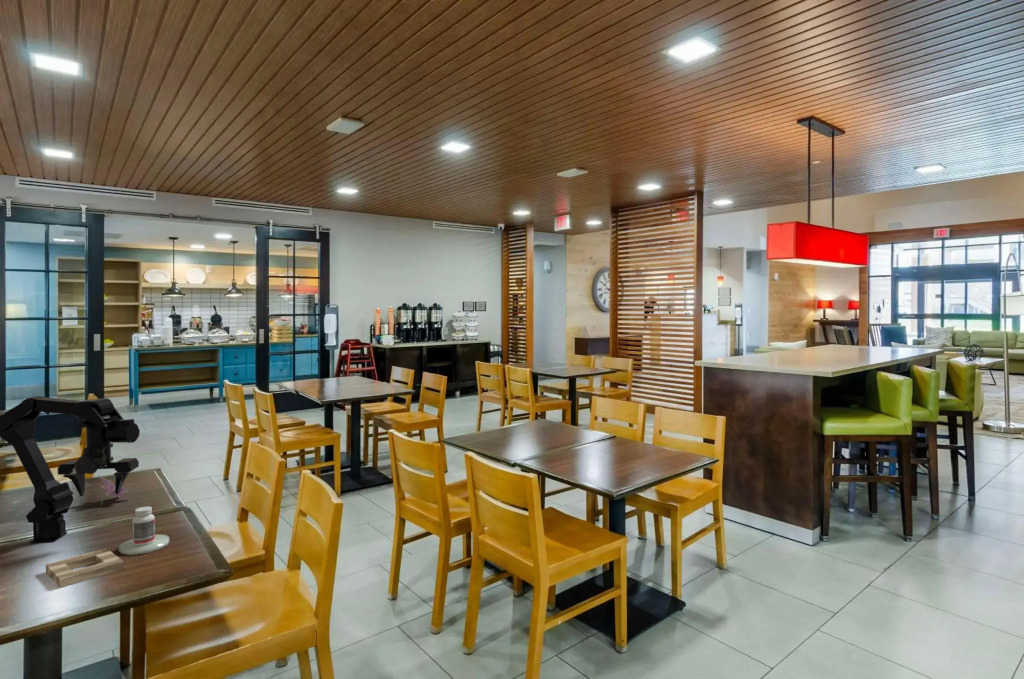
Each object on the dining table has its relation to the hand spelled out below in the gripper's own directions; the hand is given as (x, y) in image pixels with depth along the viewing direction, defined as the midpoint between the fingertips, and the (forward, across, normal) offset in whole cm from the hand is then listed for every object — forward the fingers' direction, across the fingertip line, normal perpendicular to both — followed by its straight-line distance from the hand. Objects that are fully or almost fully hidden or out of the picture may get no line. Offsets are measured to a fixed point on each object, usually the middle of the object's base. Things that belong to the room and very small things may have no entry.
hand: (99, 495), depth 162 cm
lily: (+13, -13, +35) cm, 40 cm away
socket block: (+13, +7, -22) cm, 26 cm away
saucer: (+13, +15, -8) cm, 21 cm away
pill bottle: (+12, +15, -8) cm, 21 cm away
